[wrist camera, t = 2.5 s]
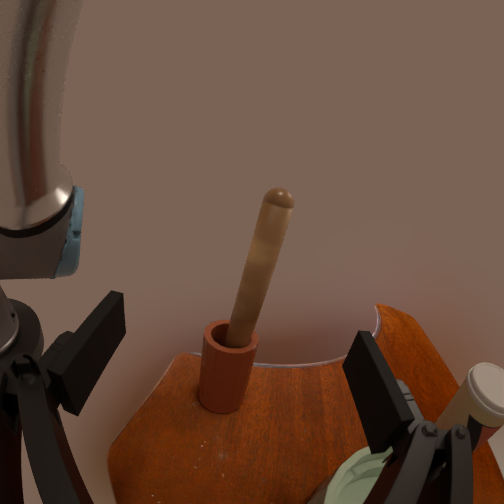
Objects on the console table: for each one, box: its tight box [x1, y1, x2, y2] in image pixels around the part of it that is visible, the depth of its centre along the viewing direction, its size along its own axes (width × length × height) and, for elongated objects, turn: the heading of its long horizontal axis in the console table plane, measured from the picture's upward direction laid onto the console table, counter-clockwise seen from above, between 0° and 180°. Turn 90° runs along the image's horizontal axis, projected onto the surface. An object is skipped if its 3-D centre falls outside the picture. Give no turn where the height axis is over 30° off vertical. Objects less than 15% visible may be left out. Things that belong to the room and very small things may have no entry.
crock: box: [198, 320, 258, 413], centre depth 29 cm, size 5×6×10 cm
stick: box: [223, 188, 294, 348], centre depth 25 cm, size 2×2×24 cm
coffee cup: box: [435, 362, 504, 453], centre depth 20 cm, size 9×9×12 cm
